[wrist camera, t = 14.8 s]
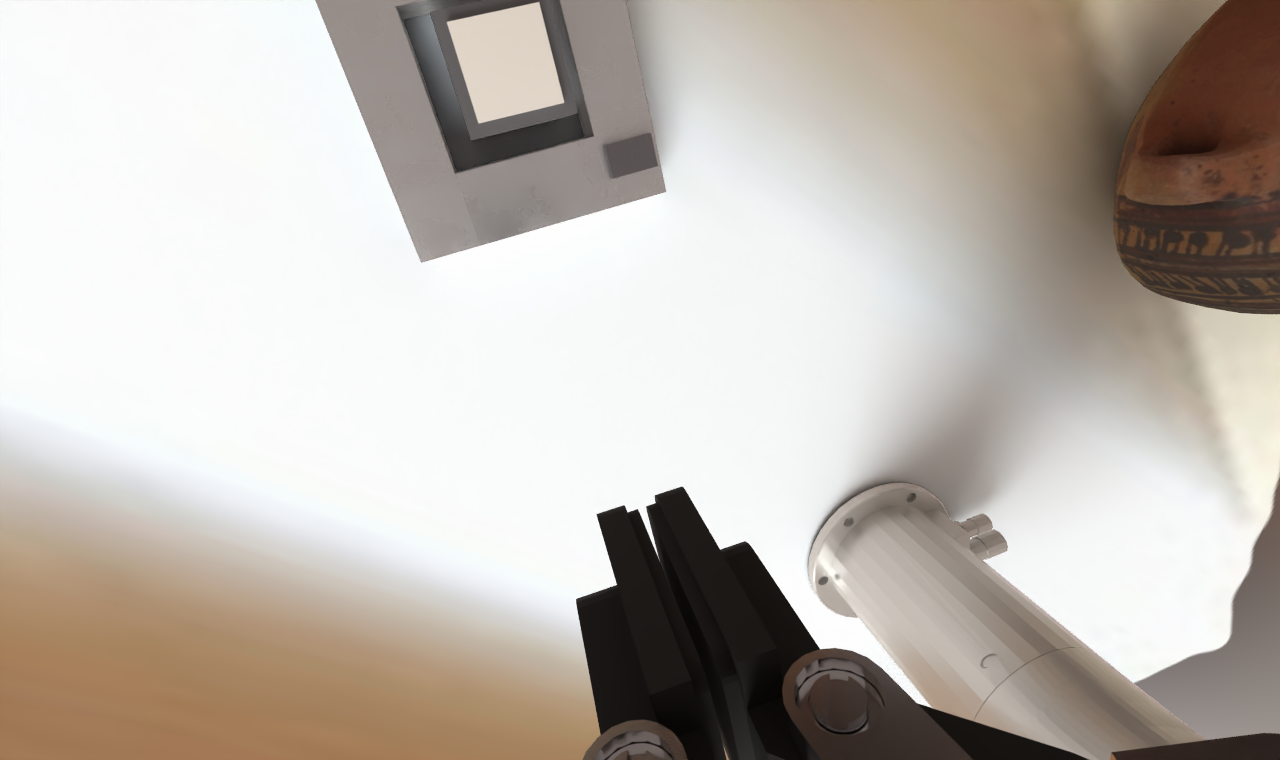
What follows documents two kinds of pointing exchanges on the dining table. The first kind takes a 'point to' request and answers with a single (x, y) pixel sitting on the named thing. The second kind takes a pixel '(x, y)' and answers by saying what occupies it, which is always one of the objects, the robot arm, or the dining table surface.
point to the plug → (505, 64)
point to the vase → (1209, 168)
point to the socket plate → (512, 187)
